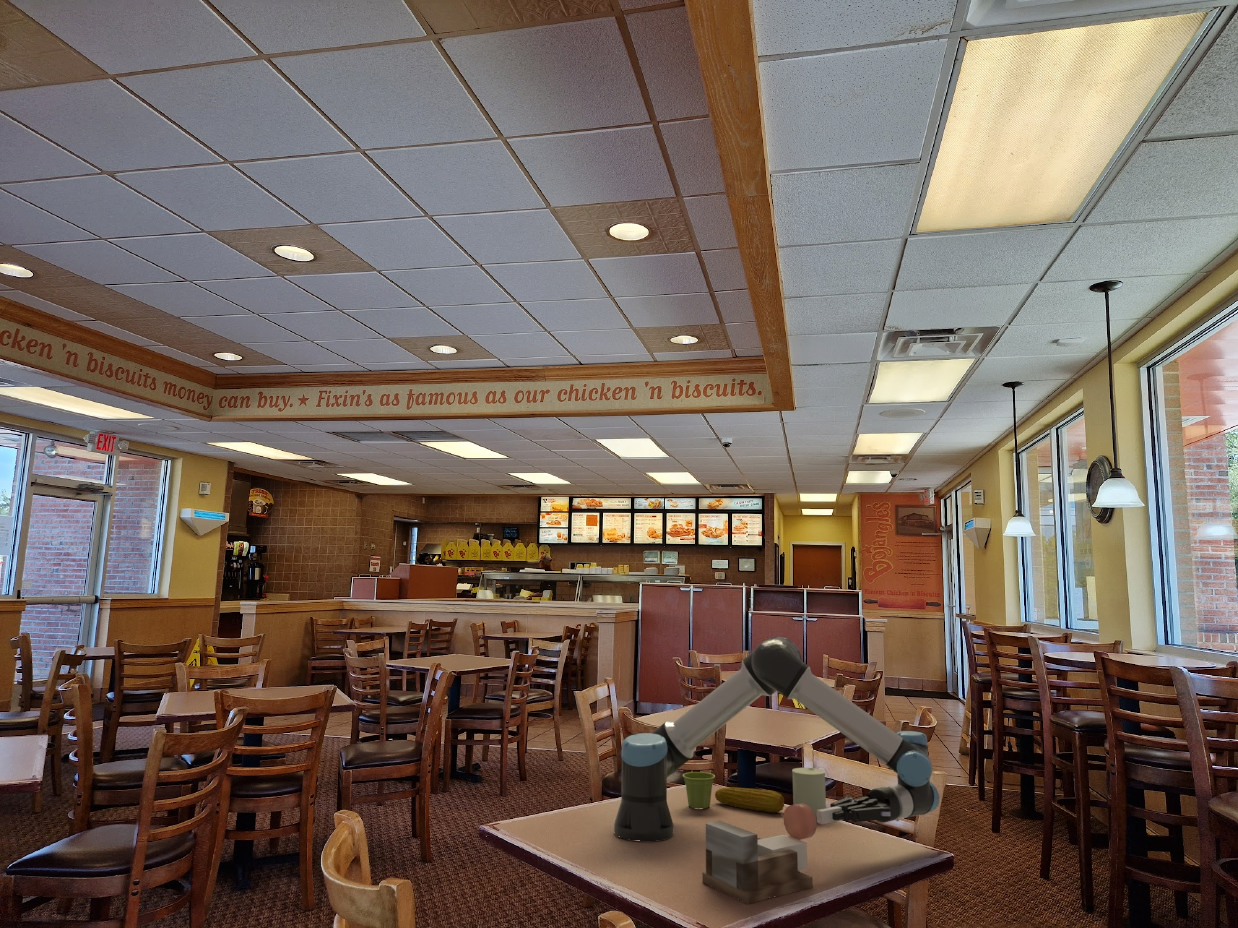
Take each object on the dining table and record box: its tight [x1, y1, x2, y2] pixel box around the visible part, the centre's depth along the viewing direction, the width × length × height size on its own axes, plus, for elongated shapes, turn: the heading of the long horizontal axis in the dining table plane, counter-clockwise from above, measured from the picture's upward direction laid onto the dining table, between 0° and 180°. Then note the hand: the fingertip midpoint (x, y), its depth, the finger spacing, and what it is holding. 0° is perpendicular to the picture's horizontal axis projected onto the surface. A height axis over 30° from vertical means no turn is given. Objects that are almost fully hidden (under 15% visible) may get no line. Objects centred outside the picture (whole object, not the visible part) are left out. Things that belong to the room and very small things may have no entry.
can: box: [791, 767, 827, 820], centre depth 221 cm, size 9×9×12 cm
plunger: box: [758, 803, 817, 872], centre depth 170 cm, size 13×7×12 cm, turn 123°
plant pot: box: [682, 771, 716, 809], centre depth 227 cm, size 9×9×9 cm
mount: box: [701, 820, 814, 905], centre depth 165 cm, size 18×14×12 cm
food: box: [714, 786, 785, 814], centre depth 226 cm, size 21×6×6 cm, turn 57°
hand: (819, 816), depth 176 cm, fingers closed
